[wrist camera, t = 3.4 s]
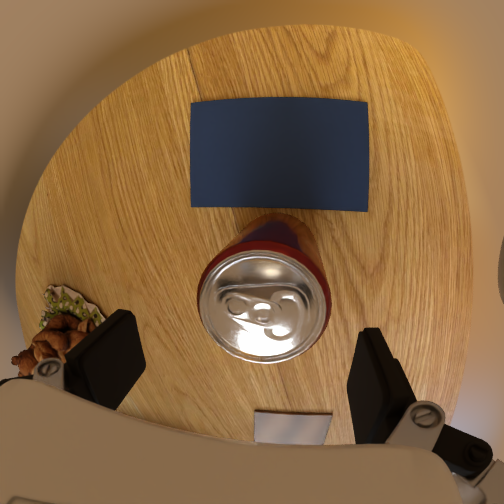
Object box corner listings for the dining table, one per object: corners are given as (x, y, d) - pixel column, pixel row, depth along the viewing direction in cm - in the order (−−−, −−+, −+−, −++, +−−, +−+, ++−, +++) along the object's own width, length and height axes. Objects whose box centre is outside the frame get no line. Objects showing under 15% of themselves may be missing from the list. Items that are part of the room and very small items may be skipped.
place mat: (366, 103, 20) (367, 102, 20) (366, 211, 23) (367, 212, 23) (191, 103, 23) (190, 102, 22) (192, 206, 25) (190, 207, 25)
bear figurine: (119, 386, 34) (78, 439, 23) (50, 337, 35) (4, 374, 23) (128, 321, 30) (67, 379, 19) (49, 269, 31) (-14, 300, 19)
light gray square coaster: (332, 413, 30) (332, 415, 29) (320, 451, 32) (320, 453, 32) (254, 409, 31) (254, 411, 31) (254, 448, 34) (254, 450, 33)
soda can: (328, 226, 24) (355, 270, 12) (301, 297, 26) (302, 382, 15) (250, 201, 24) (209, 223, 13) (229, 274, 26) (183, 343, 15)
